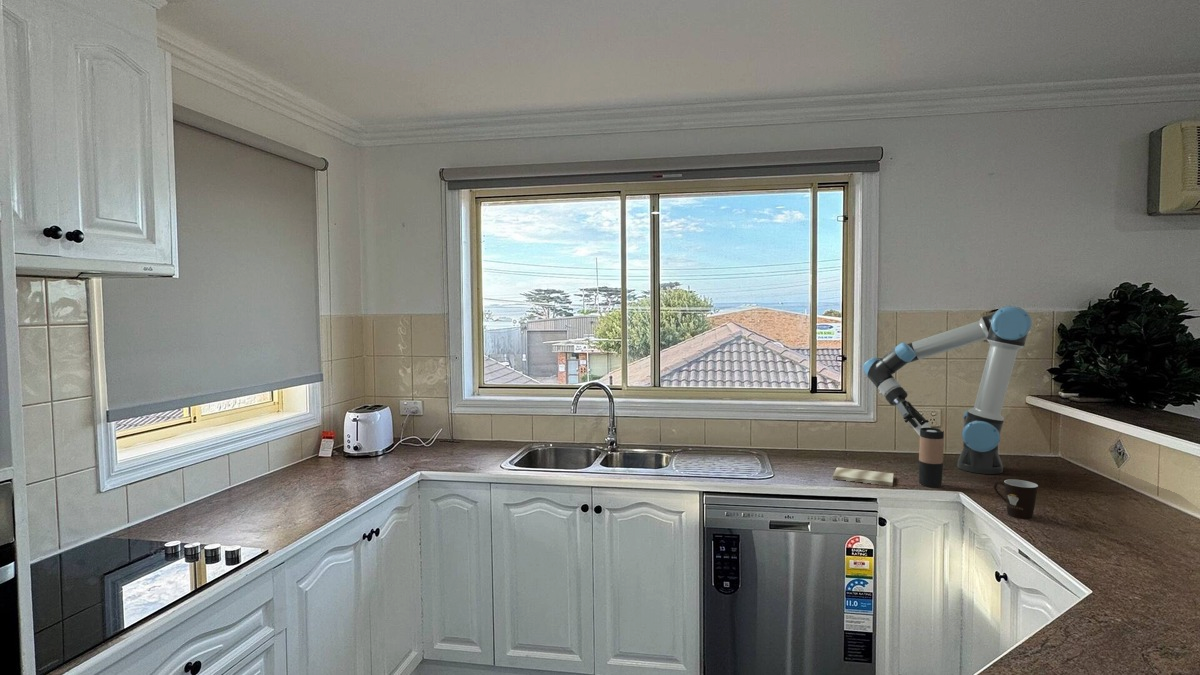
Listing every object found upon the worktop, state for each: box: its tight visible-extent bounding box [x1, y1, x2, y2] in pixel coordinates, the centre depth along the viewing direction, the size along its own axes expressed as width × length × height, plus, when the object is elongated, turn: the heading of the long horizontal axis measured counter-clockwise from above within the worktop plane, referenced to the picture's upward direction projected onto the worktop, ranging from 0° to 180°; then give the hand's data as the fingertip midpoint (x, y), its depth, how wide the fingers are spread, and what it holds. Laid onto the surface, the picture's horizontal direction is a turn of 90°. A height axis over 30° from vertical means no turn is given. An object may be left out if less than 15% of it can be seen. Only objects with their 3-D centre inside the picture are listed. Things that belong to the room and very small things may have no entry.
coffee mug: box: [993, 479, 1039, 520], centre depth 189 cm, size 12×9×10 cm
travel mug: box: [918, 427, 945, 489], centre depth 220 cm, size 8×8×20 cm
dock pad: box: [832, 467, 894, 487], centre depth 229 cm, size 20×13×2 cm, turn 63°
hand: (929, 436), depth 228 cm, fingers open, 13 cm apart
